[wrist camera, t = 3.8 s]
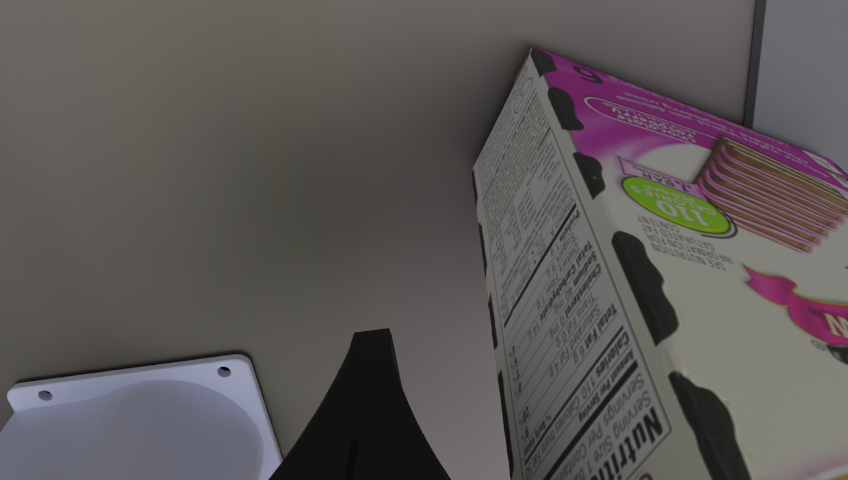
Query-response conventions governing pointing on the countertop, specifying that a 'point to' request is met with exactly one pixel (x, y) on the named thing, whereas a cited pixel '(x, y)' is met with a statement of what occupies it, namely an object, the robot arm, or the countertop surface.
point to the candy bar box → (660, 287)
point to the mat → (801, 75)
